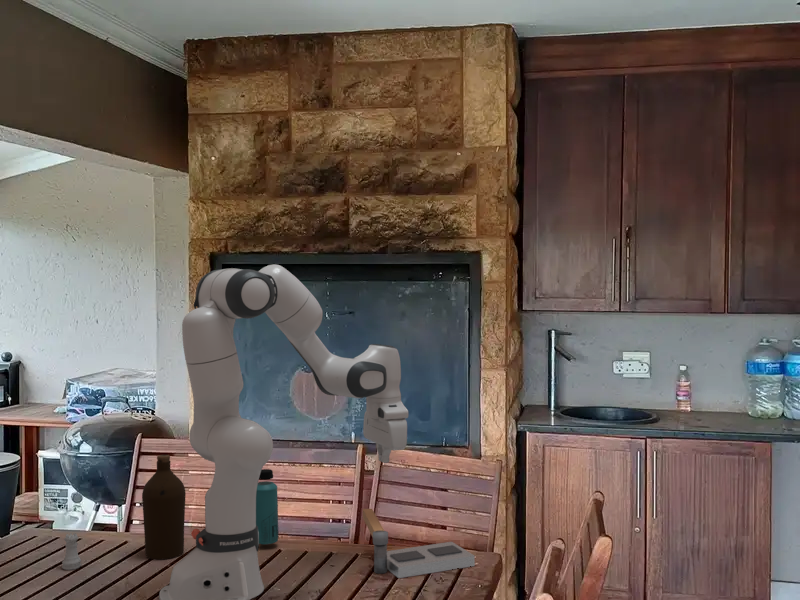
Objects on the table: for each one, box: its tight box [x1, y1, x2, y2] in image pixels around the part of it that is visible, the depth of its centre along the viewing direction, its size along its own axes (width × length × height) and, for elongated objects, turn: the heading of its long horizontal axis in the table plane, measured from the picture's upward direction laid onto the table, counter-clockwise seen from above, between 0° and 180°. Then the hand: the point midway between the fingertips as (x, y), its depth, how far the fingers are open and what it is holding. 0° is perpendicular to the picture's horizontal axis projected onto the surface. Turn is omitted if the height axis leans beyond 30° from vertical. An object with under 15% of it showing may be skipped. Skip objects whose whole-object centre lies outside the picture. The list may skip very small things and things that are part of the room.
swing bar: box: [362, 508, 389, 545], centre depth 204 cm, size 23×4×2 cm, turn 11°
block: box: [373, 541, 475, 579], centre depth 198 cm, size 24×12×6 cm, turn 114°
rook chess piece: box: [61, 532, 82, 571], centre depth 199 cm, size 4×4×8 cm
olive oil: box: [141, 454, 186, 561], centre depth 208 cm, size 11×11×25 cm
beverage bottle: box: [256, 468, 280, 545], centre depth 214 cm, size 6×7×20 cm
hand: (383, 461), depth 209 cm, fingers closed
